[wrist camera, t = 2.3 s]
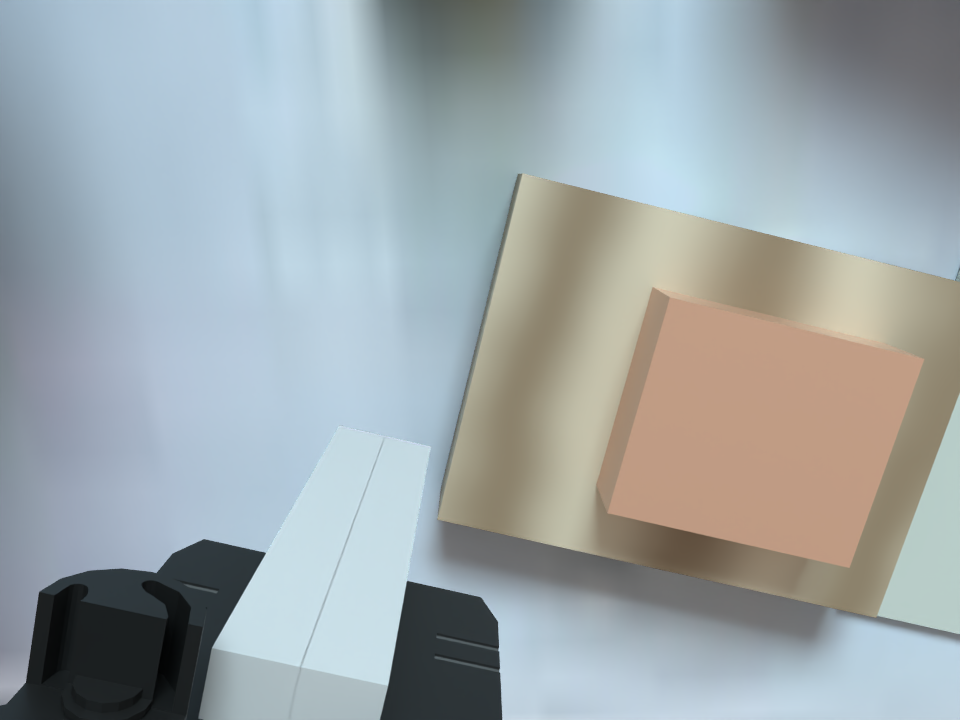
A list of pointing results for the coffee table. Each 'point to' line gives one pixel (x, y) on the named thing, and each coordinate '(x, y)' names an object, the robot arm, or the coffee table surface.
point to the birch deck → (605, 365)
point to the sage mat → (932, 546)
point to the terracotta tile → (754, 428)
